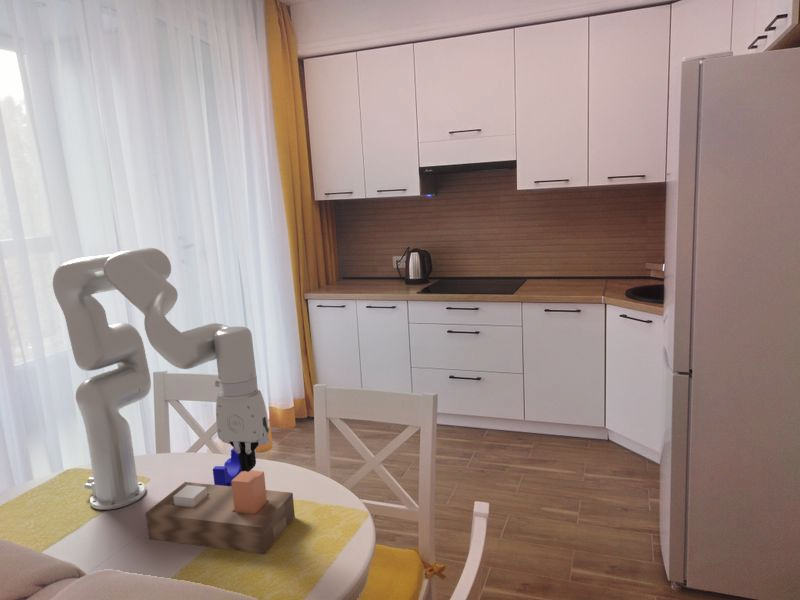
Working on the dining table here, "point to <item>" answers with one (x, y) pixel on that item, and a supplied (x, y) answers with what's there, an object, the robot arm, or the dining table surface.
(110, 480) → the robot arm
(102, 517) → the dining table surface
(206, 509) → the button box
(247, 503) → the terracotta plunger
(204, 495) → the white rectangular block
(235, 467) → the cable clip
